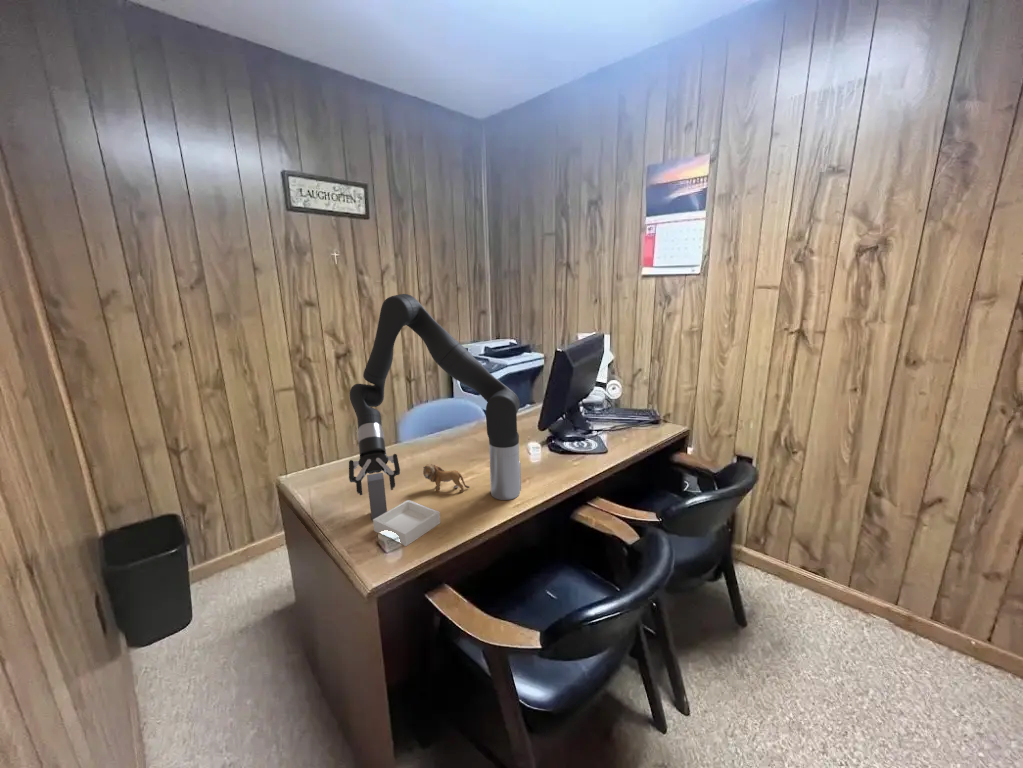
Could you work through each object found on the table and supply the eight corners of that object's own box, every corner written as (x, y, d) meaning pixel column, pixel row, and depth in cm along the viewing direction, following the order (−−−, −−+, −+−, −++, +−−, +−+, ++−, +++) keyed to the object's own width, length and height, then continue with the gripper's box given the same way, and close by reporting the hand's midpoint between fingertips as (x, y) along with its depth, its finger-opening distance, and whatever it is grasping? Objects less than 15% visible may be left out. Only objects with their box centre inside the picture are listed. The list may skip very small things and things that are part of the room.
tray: (409, 510, 125) (408, 499, 124) (440, 523, 118) (439, 511, 117) (374, 531, 114) (372, 519, 114) (406, 546, 107) (404, 534, 107)
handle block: (386, 509, 125) (382, 472, 123) (387, 516, 121) (383, 478, 118) (371, 512, 124) (367, 475, 121) (371, 520, 120) (367, 481, 117)
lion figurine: (423, 494, 134) (421, 468, 132) (425, 486, 139) (424, 461, 137) (469, 492, 134) (467, 466, 132) (470, 485, 140) (469, 459, 137)
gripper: (345, 439, 124) (349, 492, 116) (395, 432, 128) (402, 483, 120) (348, 449, 130) (351, 500, 122) (395, 442, 134) (401, 491, 127)
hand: (376, 491), depth 121 cm, fingers open, 8 cm apart
